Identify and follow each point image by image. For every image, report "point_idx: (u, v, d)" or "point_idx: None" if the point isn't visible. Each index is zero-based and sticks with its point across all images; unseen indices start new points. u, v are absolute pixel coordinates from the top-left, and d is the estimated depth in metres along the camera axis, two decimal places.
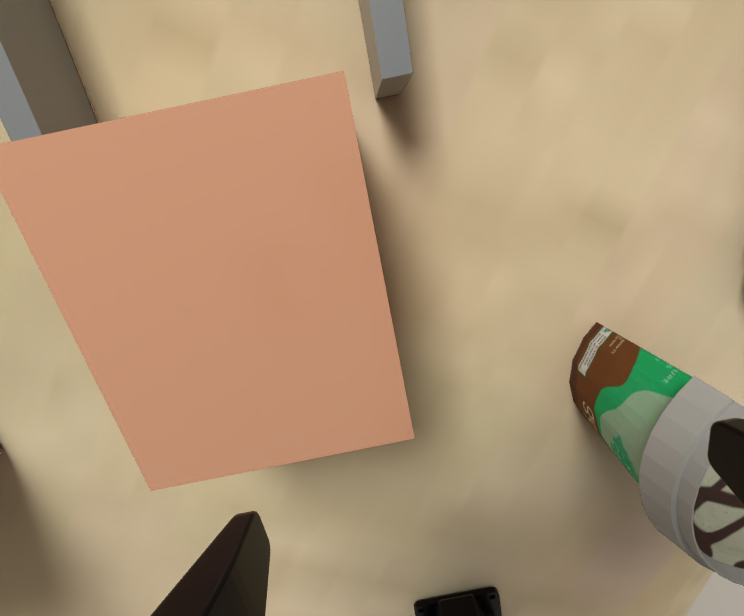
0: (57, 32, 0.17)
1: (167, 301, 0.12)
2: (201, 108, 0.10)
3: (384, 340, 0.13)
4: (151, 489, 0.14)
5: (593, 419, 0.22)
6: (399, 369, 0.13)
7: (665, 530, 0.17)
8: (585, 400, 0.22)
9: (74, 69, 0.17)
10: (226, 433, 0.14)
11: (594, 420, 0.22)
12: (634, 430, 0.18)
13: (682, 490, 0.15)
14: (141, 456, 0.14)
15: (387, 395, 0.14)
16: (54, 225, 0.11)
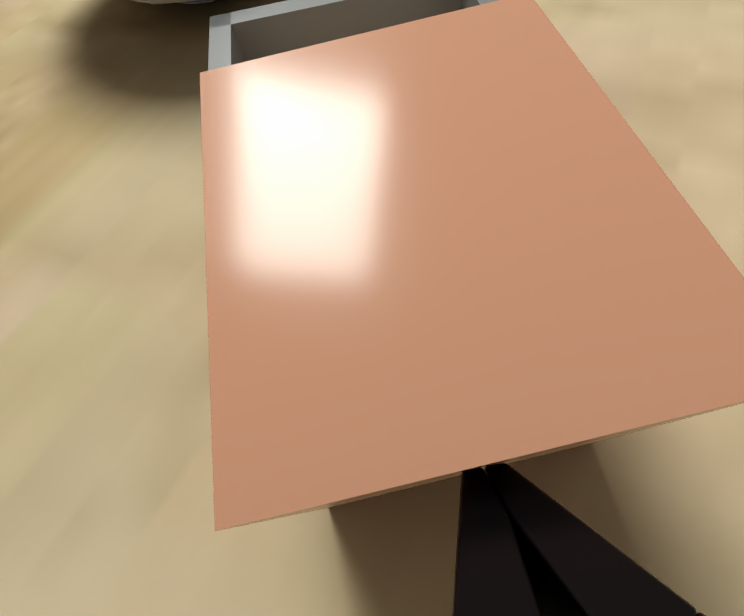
0: None
1: (337, 172, 0.09)
2: (401, 27, 0.11)
3: (661, 195, 0.08)
4: (218, 526, 0.06)
5: None
6: (709, 236, 0.07)
7: None
8: None
9: None
10: (399, 372, 0.07)
11: None
12: None
13: None
14: (226, 429, 0.07)
15: (707, 285, 0.07)
16: (237, 115, 0.10)
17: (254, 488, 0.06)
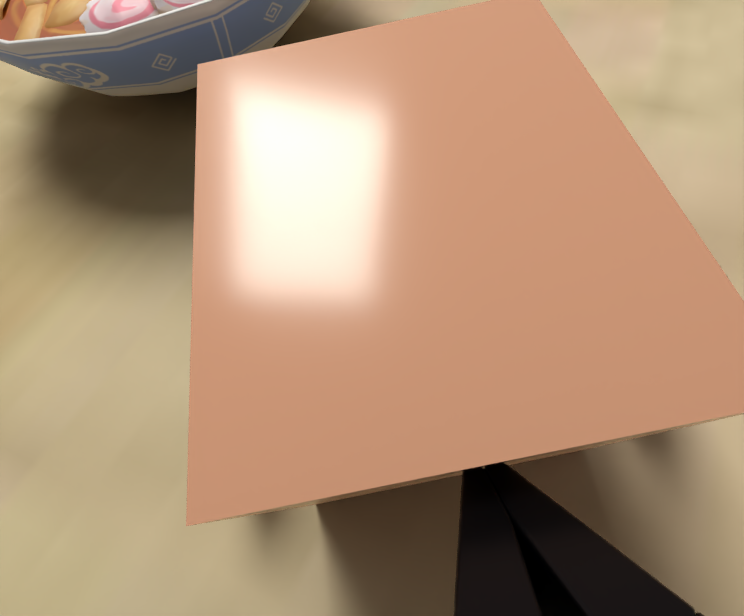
0: None
1: (329, 168, 0.09)
2: (401, 23, 0.11)
3: (656, 201, 0.08)
4: (189, 521, 0.06)
5: None
6: (702, 245, 0.07)
7: None
8: None
9: None
10: (379, 373, 0.07)
11: None
12: None
13: None
14: (202, 424, 0.07)
15: (697, 295, 0.07)
16: (232, 108, 0.10)
17: (227, 484, 0.06)
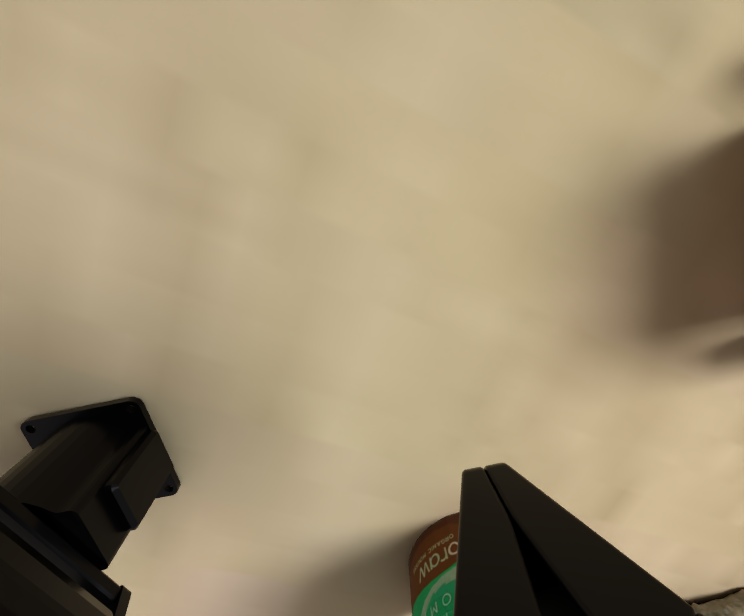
0: None
1: None
2: None
3: None
4: None
5: None
6: None
7: None
8: None
9: None
10: None
11: None
12: None
13: None
14: None
15: None
16: None
17: None
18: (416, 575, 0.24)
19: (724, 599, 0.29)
